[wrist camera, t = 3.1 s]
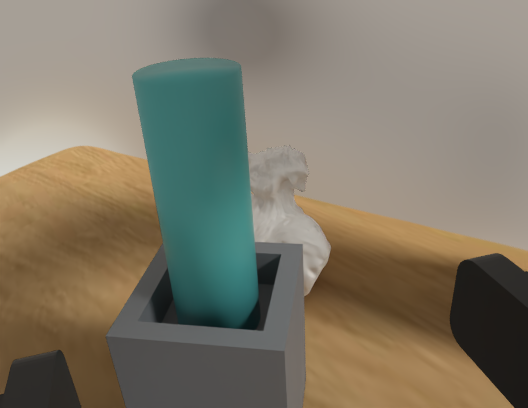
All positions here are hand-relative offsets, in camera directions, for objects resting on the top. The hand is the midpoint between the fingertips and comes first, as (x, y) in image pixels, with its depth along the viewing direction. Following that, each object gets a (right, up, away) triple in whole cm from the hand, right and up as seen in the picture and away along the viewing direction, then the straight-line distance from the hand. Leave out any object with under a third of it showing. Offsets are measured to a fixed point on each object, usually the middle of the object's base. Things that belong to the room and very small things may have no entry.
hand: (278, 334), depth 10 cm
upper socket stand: (-2, -10, +18) cm, 21 cm away
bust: (+1, -3, +31) cm, 31 cm away
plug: (-2, -3, +14) cm, 15 cm away
